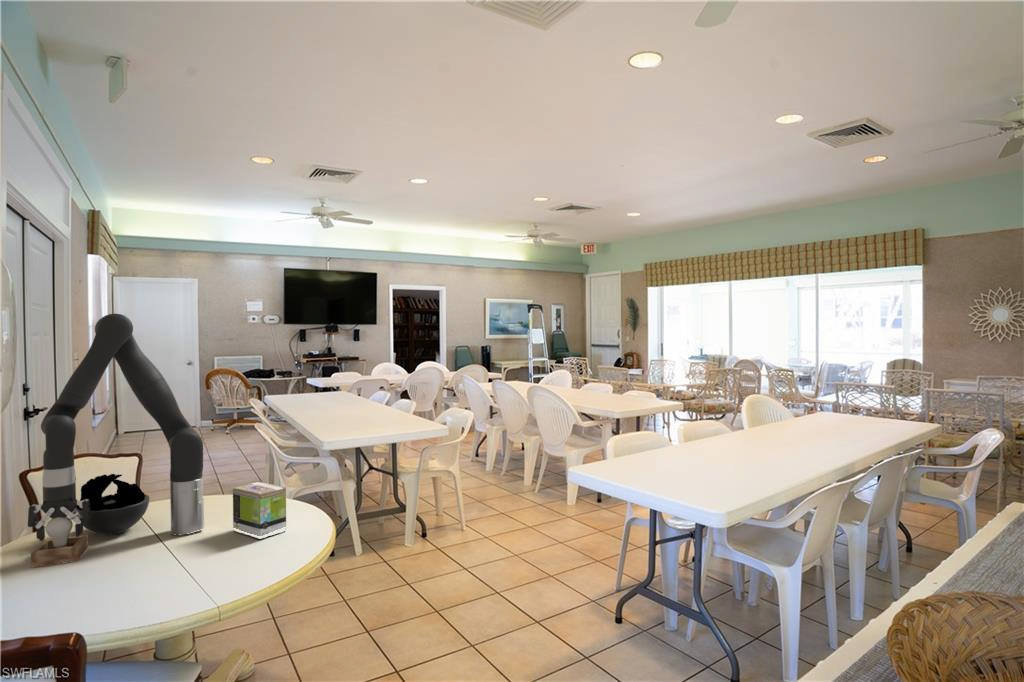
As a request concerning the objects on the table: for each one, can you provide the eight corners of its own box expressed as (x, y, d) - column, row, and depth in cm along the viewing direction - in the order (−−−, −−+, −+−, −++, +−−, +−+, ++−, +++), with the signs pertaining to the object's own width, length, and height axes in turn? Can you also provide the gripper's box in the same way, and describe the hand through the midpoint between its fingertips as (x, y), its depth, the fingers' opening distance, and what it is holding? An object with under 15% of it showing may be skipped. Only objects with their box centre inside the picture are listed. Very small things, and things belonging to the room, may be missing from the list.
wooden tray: (89, 547, 172) (88, 534, 172) (77, 561, 162) (77, 547, 162) (44, 553, 168) (44, 539, 168) (29, 567, 158) (29, 553, 158)
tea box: (287, 531, 186) (287, 486, 186) (259, 541, 177) (259, 494, 177) (259, 523, 194) (259, 480, 194) (231, 532, 186) (231, 487, 185)
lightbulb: (55, 559, 161) (53, 521, 160) (42, 556, 163) (40, 518, 163) (79, 551, 167) (76, 514, 166) (66, 548, 169) (63, 511, 168)
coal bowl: (89, 525, 192) (88, 470, 191) (157, 519, 198) (156, 465, 198) (63, 547, 173) (62, 485, 172) (139, 539, 179) (138, 480, 179)
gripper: (23, 488, 159) (24, 546, 159) (85, 483, 164) (86, 538, 164) (33, 482, 165) (34, 537, 166) (92, 476, 171) (93, 530, 171)
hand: (60, 538), depth 165 cm, fingers open, 8 cm apart
